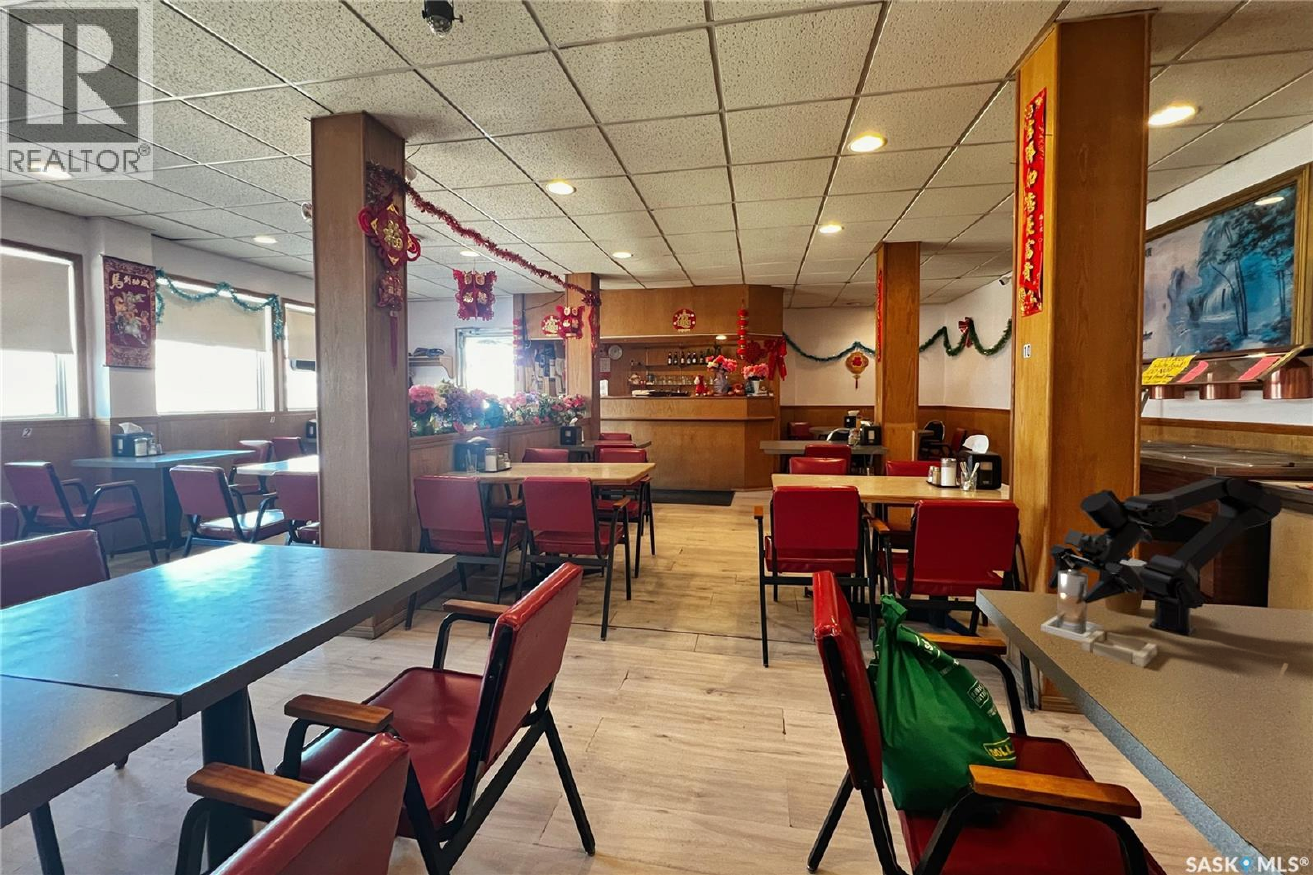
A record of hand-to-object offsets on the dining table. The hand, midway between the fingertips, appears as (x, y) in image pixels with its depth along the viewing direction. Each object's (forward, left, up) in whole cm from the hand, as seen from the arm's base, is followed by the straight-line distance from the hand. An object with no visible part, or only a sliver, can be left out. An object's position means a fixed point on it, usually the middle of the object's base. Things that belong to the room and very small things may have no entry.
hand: (1066, 594), depth 119 cm
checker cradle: (+4, +10, -9) cm, 14 cm away
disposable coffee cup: (-27, +3, -9) cm, 29 cm away
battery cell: (-1, +1, -8) cm, 8 cm away
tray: (-1, +1, -9) cm, 9 cm away
